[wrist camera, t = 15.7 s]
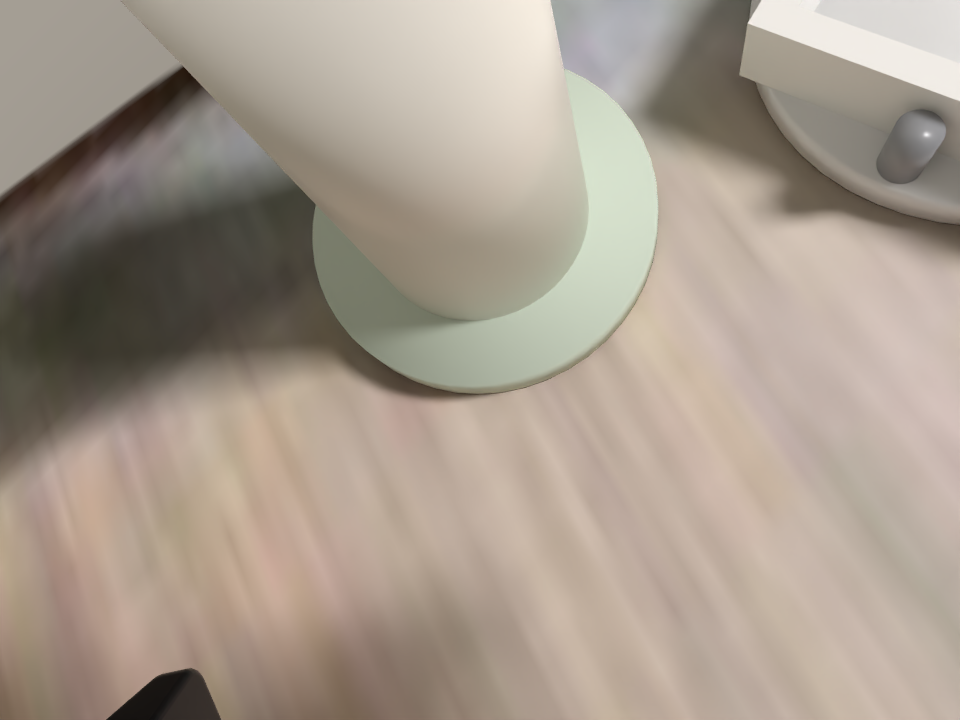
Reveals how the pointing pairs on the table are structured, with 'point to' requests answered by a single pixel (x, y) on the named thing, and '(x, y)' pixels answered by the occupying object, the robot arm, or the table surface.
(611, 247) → the pad
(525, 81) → the cylinder
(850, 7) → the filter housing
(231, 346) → the table surface
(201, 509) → the table surface
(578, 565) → the table surface
